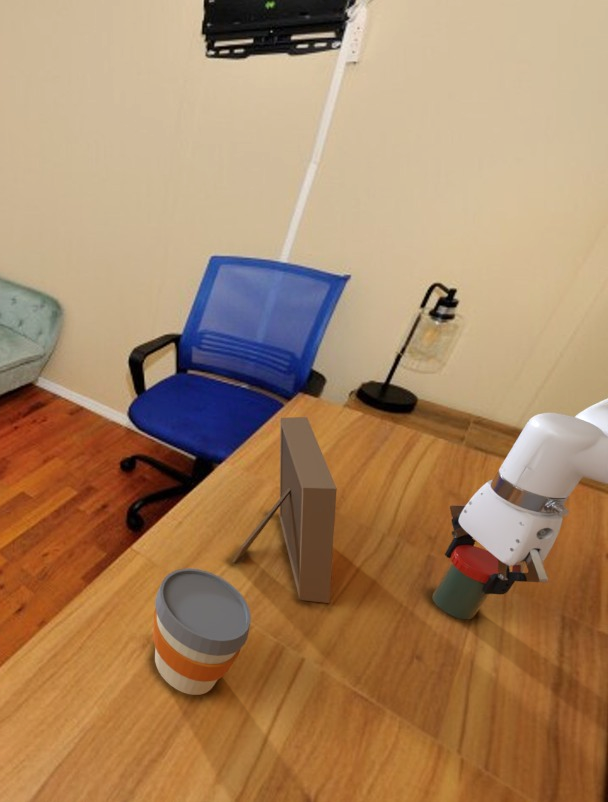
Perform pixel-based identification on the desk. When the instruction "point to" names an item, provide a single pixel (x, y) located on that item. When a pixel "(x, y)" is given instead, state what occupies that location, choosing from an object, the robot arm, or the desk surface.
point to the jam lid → (475, 562)
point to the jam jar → (459, 594)
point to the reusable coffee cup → (198, 629)
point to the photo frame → (304, 510)
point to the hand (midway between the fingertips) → (473, 573)
